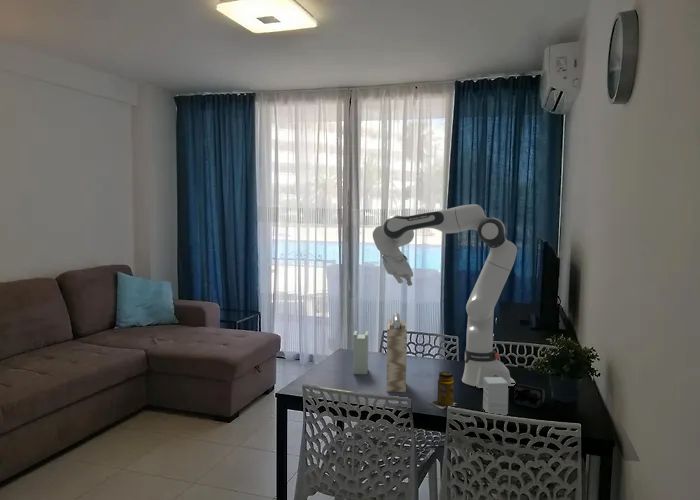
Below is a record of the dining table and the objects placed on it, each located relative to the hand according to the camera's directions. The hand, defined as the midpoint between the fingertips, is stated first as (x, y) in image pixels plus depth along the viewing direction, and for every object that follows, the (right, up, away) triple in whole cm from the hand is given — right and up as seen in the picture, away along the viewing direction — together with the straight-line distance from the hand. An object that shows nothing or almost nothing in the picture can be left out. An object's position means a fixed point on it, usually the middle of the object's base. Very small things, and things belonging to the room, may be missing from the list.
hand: (405, 284), depth 230 cm
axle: (-5, -17, -6) cm, 18 cm away
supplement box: (+29, -45, -37) cm, 65 cm away
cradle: (-20, -41, +13) cm, 48 cm away
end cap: (+45, -45, -27) cm, 69 cm away
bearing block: (-5, -43, -8) cm, 44 cm away
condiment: (+12, -45, -27) cm, 54 cm away
